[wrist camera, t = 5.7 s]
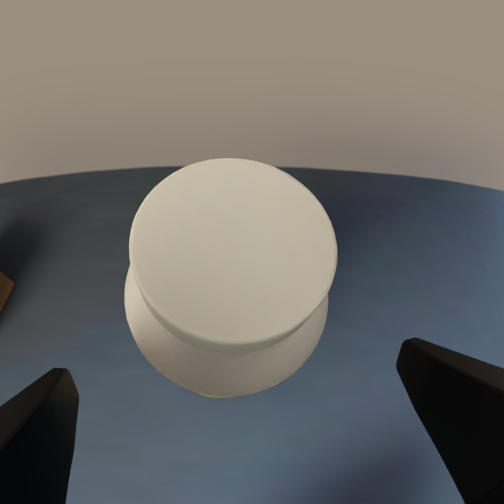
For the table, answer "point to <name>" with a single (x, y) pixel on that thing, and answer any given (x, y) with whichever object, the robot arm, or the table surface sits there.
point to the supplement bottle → (229, 276)
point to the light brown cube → (4, 289)
